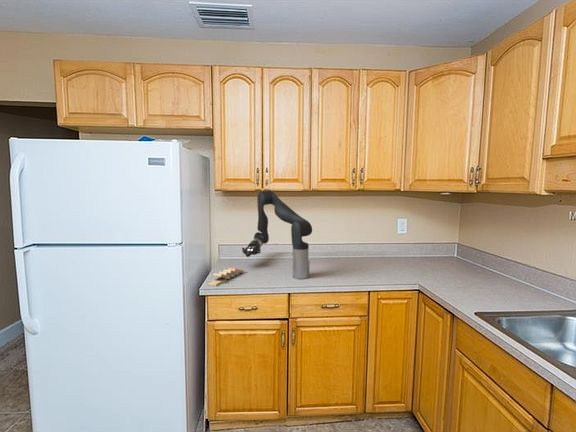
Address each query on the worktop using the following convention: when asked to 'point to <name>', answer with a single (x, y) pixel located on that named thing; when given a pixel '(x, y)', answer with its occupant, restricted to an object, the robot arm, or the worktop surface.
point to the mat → (236, 276)
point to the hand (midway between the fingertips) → (247, 255)
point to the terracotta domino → (235, 270)
